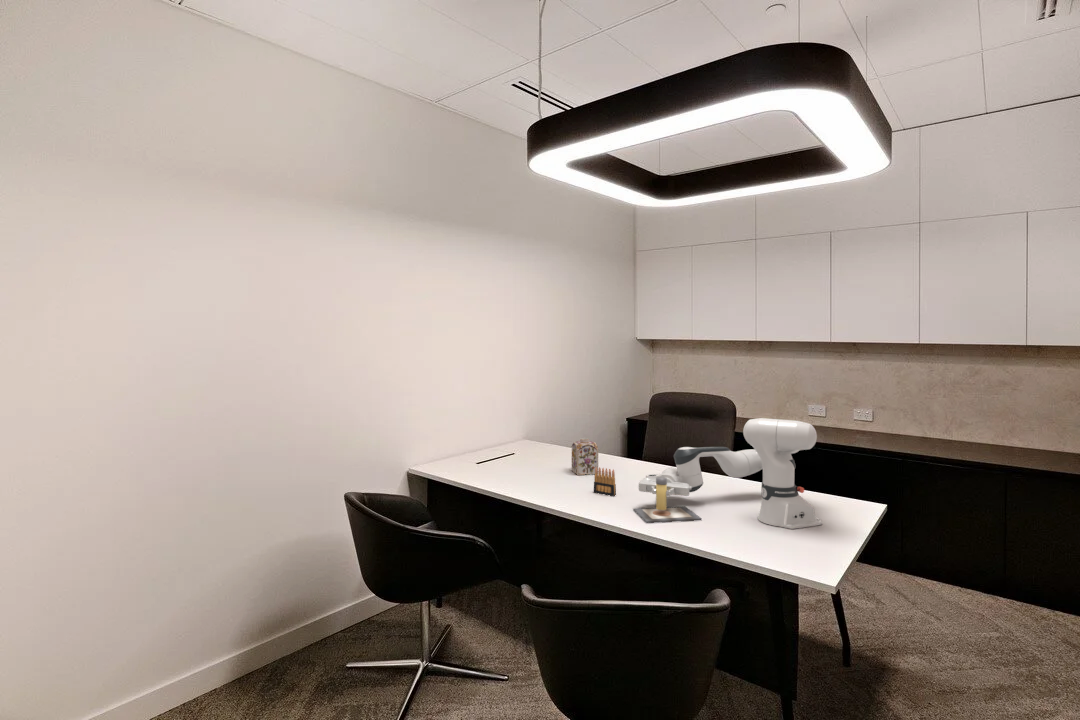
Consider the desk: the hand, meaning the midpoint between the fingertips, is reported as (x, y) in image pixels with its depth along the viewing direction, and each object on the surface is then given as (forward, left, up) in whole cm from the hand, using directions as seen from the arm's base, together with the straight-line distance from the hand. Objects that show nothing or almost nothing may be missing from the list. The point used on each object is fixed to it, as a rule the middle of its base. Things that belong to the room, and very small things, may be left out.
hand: (660, 492), depth 216 cm
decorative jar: (+14, -75, -10) cm, 77 cm away
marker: (0, -1, -6) cm, 7 cm away
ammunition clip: (+14, -34, -10) cm, 38 cm away
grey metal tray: (-3, -1, -9) cm, 10 cm away
